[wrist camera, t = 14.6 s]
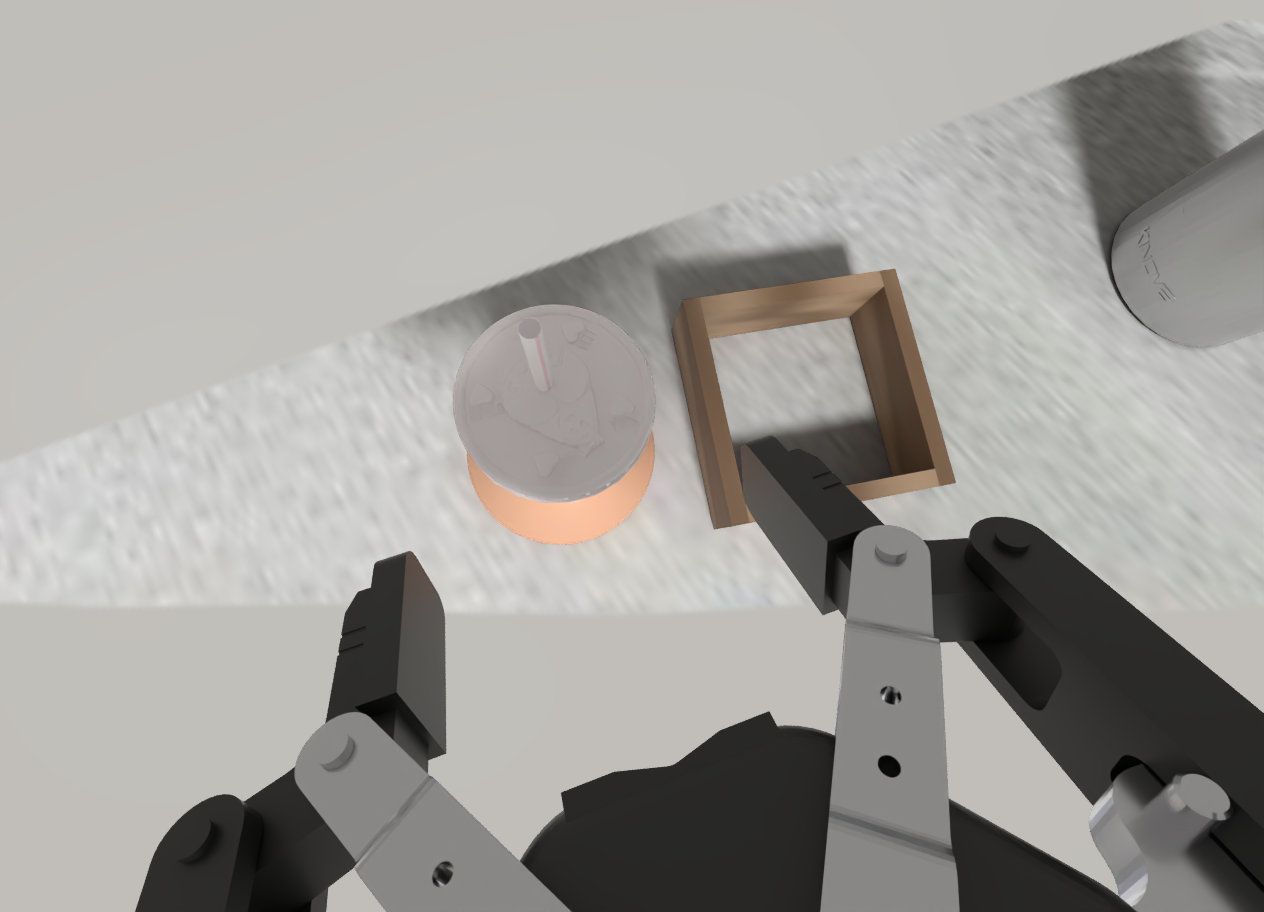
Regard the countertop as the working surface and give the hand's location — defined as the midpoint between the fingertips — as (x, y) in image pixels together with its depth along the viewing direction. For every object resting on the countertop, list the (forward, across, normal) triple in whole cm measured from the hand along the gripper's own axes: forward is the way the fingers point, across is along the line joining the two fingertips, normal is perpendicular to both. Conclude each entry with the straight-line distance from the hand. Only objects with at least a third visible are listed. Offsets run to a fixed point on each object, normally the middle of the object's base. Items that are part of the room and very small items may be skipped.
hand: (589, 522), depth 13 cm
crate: (+12, -12, +8) cm, 19 cm away
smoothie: (+12, 0, +6) cm, 14 cm away
